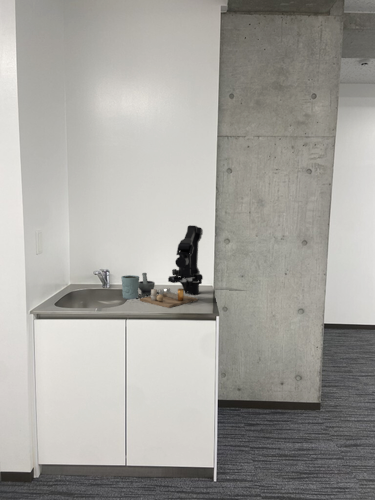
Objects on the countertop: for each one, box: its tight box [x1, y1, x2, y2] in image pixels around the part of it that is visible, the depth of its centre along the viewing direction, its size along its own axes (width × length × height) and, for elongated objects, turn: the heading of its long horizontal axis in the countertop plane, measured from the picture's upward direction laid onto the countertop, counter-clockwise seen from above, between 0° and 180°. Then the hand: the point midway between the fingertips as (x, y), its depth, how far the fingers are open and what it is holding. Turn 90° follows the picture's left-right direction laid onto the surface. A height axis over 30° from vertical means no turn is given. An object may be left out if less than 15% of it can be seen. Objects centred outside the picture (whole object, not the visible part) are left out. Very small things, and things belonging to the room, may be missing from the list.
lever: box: [159, 287, 185, 301], centre depth 233 cm, size 20×4×6 cm, turn 39°
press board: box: [139, 288, 198, 309], centre depth 230 cm, size 23×22×7 cm
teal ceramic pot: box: [121, 274, 140, 300], centre depth 237 cm, size 10×10×12 cm
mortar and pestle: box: [138, 272, 156, 296], centre depth 247 cm, size 11×9×12 cm
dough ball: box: [157, 294, 163, 301], centre depth 224 cm, size 4×4×4 cm
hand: (185, 293), depth 228 cm, fingers closed
